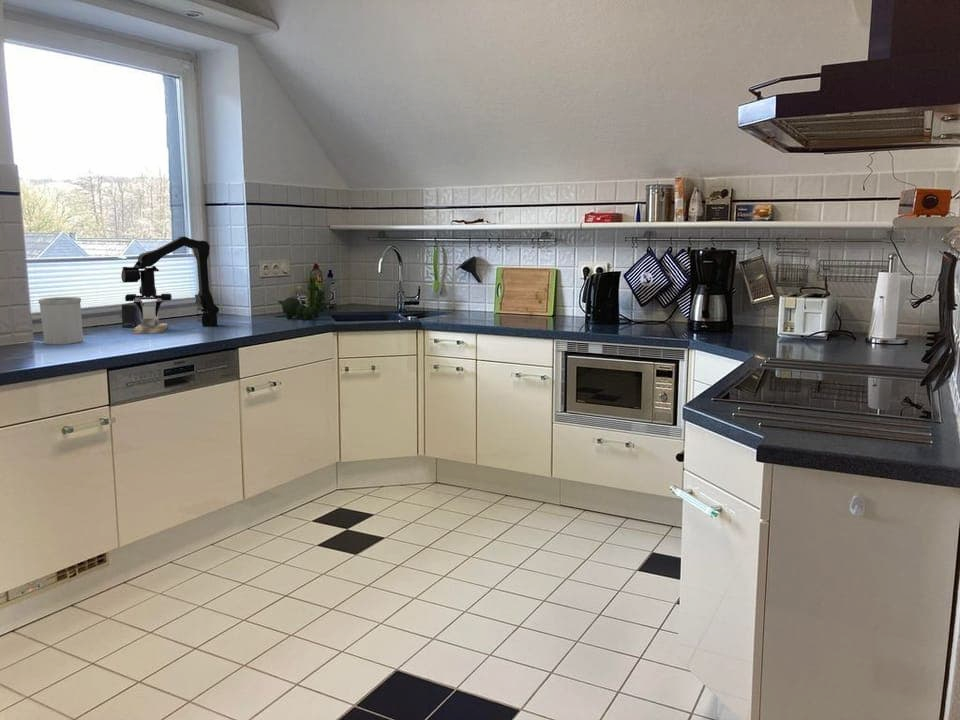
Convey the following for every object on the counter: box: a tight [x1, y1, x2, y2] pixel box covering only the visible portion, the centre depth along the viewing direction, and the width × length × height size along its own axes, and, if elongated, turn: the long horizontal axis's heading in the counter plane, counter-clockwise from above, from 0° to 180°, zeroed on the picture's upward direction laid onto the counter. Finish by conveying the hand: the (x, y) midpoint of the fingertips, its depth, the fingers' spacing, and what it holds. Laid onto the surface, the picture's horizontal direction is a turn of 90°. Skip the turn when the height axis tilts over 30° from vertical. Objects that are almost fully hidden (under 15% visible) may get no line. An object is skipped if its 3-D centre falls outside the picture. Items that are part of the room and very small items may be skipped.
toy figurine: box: [277, 284, 326, 321], centre depth 390 cm, size 9×19×25 cm
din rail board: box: [132, 315, 168, 335], centre depth 345 cm, size 12×22×6 cm, turn 17°
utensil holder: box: [38, 296, 84, 345], centre depth 306 cm, size 15×15×18 cm
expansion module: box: [142, 304, 157, 320], centre depth 344 cm, size 5×6×6 cm
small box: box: [121, 302, 145, 328], centre depth 358 cm, size 11×6×10 cm, turn 179°
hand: (150, 316), depth 344 cm, fingers closed on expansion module, 5 cm apart
